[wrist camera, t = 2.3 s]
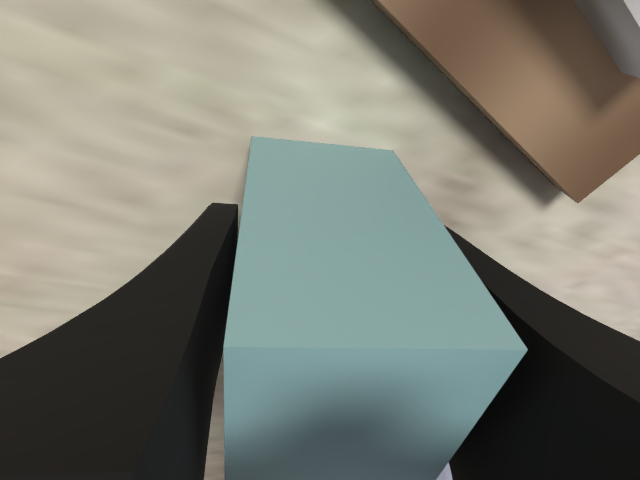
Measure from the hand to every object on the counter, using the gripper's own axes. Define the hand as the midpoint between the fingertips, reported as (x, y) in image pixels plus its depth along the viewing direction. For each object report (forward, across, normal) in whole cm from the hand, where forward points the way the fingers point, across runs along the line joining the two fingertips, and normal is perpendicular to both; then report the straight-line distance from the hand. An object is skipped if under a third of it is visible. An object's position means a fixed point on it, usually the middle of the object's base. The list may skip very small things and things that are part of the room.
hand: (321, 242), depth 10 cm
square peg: (+2, 0, 0) cm, 2 cm away
